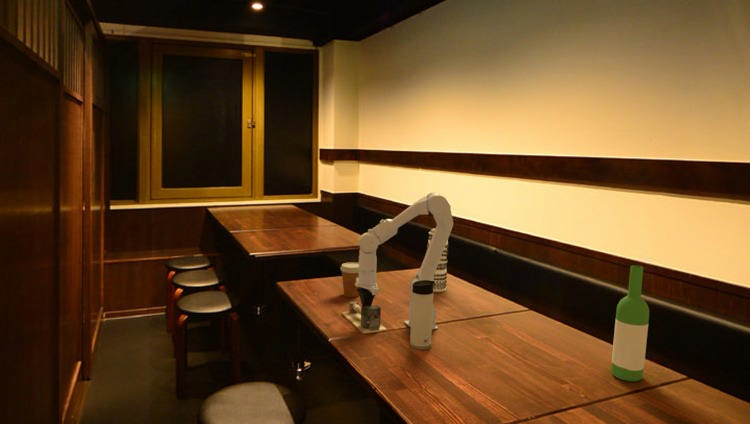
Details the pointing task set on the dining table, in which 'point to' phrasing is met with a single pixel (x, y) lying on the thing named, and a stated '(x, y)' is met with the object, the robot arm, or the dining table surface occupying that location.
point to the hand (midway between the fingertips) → (366, 310)
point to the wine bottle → (631, 331)
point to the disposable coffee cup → (350, 278)
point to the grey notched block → (369, 314)
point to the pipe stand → (355, 319)
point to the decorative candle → (440, 268)
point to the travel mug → (421, 314)
